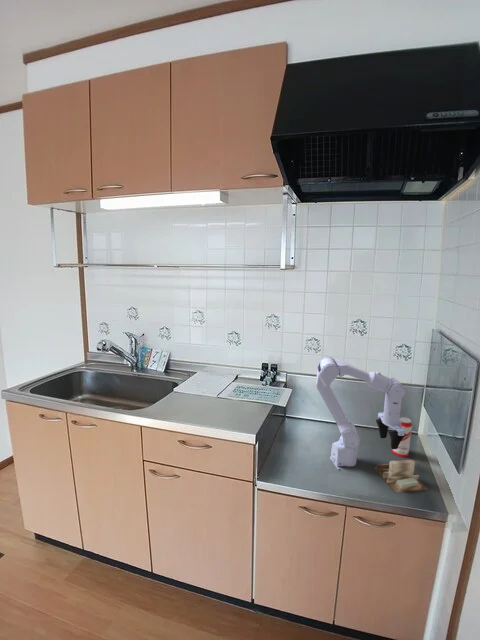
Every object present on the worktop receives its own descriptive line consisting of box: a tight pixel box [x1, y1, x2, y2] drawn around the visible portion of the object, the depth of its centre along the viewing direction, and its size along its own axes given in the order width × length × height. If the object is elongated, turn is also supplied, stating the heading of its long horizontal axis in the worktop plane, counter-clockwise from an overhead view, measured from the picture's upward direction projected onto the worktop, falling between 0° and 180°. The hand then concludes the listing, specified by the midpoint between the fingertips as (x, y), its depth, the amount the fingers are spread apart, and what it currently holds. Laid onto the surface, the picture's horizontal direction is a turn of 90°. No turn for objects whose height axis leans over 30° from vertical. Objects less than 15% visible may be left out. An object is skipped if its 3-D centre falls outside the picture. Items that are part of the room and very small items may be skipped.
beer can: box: [391, 416, 413, 458], centre depth 138 cm, size 6×6×16 cm
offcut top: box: [396, 477, 418, 488], centre depth 118 cm, size 7×3×1 cm, turn 106°
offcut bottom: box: [395, 482, 421, 491], centre depth 118 cm, size 8×3×1 cm, turn 98°
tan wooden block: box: [388, 459, 416, 477], centre depth 122 cm, size 9×2×7 cm, turn 98°
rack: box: [373, 463, 429, 493], centre depth 123 cm, size 13×14×3 cm
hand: (388, 443), depth 129 cm, fingers open, 7 cm apart
